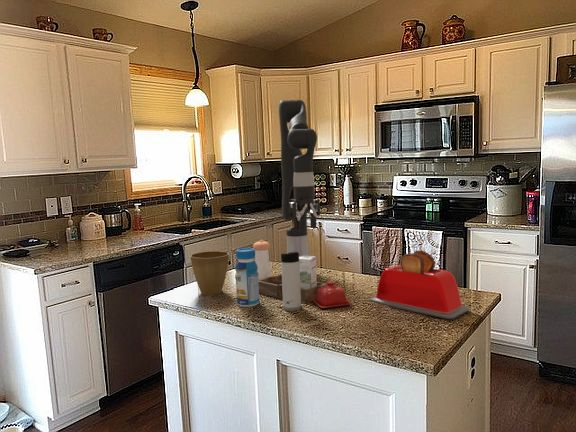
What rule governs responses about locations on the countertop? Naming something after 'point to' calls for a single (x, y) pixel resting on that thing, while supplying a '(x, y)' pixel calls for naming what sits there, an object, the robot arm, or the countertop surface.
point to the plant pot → (210, 271)
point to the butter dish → (331, 296)
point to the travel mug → (291, 281)
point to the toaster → (420, 287)
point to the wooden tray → (274, 288)
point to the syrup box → (307, 272)
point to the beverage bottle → (246, 278)
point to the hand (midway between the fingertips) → (305, 229)
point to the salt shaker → (262, 259)
